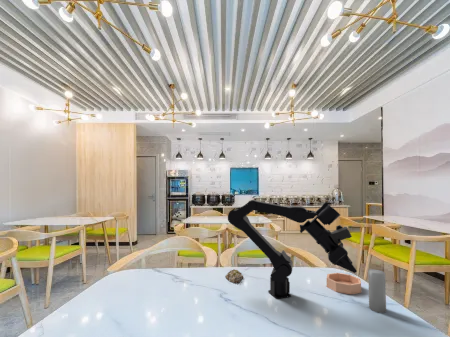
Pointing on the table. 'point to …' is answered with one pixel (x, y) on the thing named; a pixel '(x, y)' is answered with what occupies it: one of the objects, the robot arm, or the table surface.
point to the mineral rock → (234, 276)
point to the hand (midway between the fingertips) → (353, 267)
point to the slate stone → (377, 290)
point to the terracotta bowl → (344, 283)
